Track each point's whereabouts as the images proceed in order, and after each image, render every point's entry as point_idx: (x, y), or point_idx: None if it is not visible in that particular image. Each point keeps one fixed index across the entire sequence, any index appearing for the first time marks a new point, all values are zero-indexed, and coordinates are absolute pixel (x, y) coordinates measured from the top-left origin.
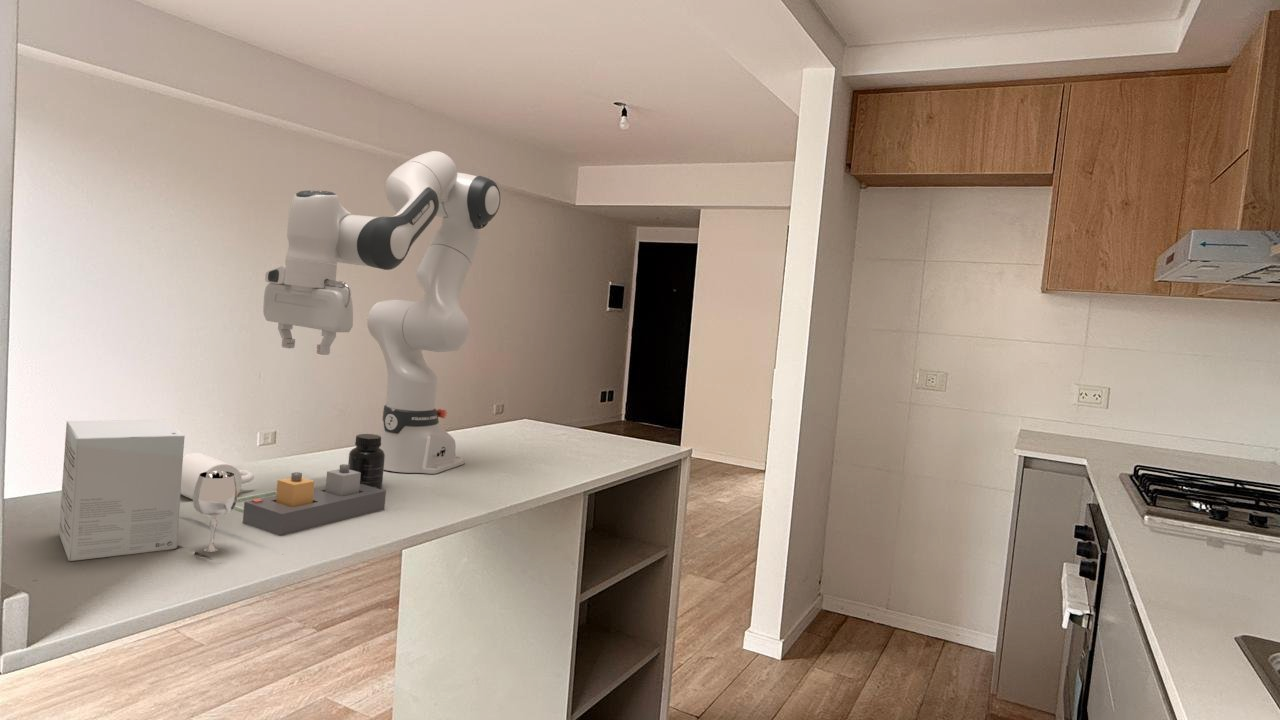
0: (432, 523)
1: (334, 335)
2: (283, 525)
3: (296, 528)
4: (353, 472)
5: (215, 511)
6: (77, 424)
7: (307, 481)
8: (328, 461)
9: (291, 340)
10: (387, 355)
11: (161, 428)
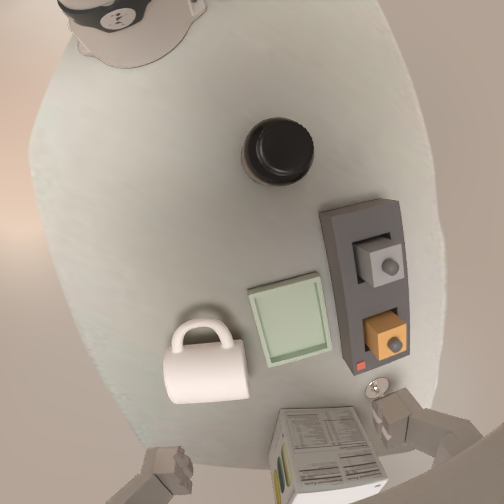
0: (421, 161)
1: (470, 430)
2: None
3: None
4: (396, 253)
5: None
6: None
7: (403, 331)
8: (63, 122)
9: (180, 478)
10: None
11: (351, 494)
